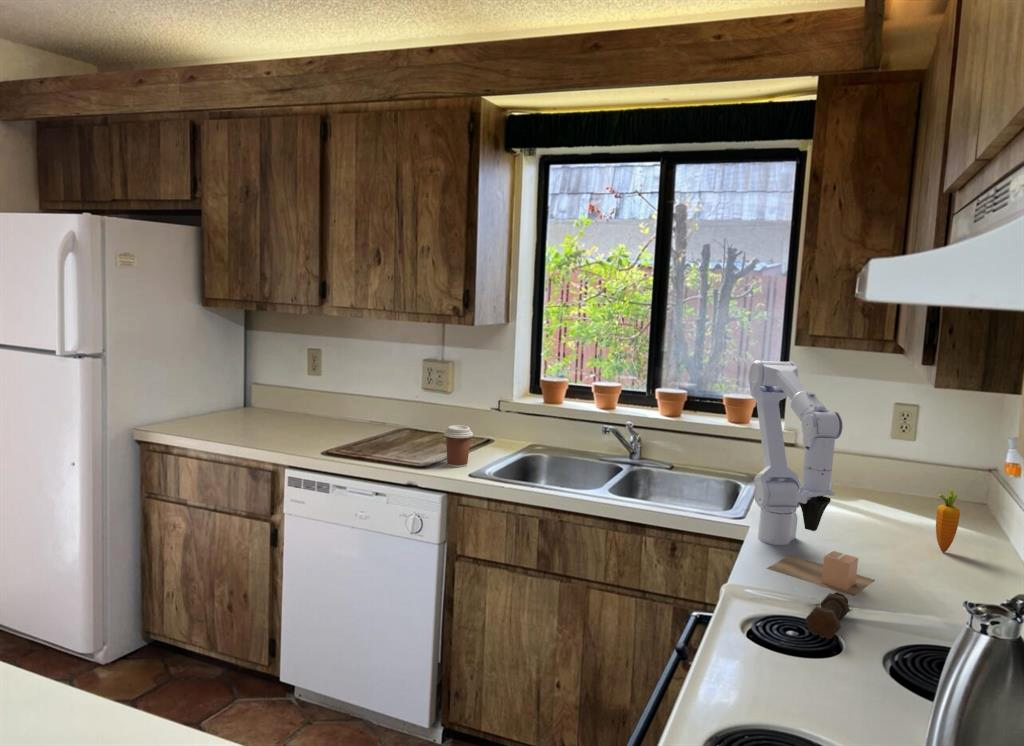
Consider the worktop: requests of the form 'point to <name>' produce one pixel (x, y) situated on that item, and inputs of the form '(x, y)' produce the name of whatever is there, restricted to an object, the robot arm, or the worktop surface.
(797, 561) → the board
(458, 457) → the coffee cup
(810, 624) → the bolt
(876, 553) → the worktop surface
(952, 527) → the carrot
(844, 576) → the salmon orange block
